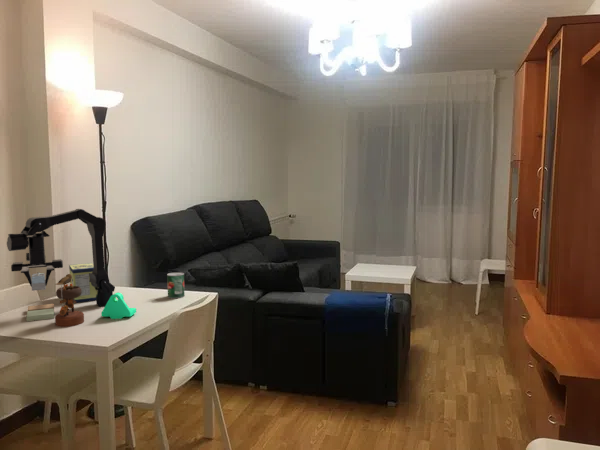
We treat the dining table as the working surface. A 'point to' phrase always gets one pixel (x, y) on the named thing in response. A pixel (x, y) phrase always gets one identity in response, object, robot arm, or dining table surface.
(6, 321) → the dining table surface
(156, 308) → the dining table surface
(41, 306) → the walnut stand
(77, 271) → the protein box
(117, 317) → the camera mount
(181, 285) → the canned tomato
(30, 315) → the green stand
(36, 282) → the housing
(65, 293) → the brown bird figurine
